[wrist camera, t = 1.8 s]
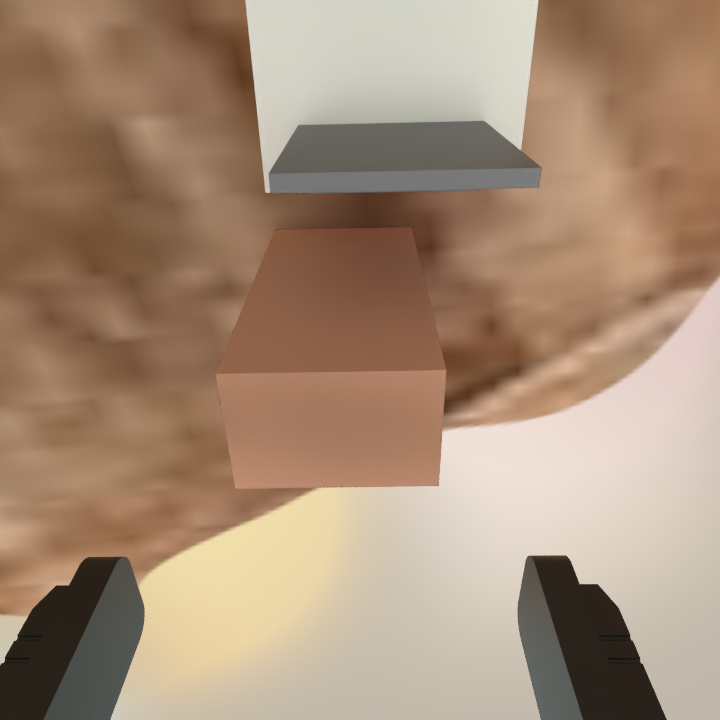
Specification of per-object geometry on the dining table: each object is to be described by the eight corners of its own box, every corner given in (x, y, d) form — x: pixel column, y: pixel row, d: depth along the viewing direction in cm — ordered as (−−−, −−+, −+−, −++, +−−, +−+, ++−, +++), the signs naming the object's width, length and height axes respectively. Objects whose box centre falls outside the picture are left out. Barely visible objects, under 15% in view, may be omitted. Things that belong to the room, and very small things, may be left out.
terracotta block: (283, 311, 27) (235, 488, 17) (275, 229, 25) (215, 374, 15) (409, 309, 27) (438, 485, 17) (411, 226, 25) (446, 370, 15)
